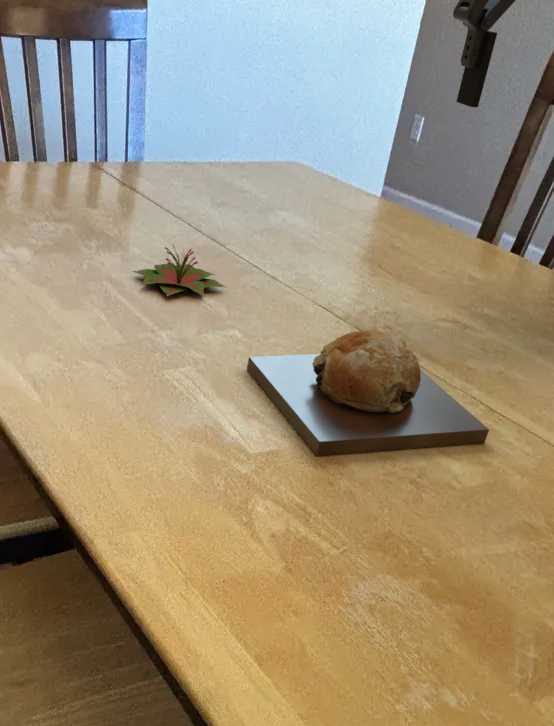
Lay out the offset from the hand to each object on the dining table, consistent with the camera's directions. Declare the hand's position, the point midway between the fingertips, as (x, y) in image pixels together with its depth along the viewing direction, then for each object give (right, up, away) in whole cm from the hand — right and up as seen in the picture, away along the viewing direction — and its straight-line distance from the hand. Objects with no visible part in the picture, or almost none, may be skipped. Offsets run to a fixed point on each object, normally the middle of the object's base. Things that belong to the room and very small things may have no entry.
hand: (522, 105), depth 90 cm
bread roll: (-17, -30, -2) cm, 35 cm away
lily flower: (-35, -12, +23) cm, 43 cm away
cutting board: (-17, -31, -1) cm, 35 cm away
